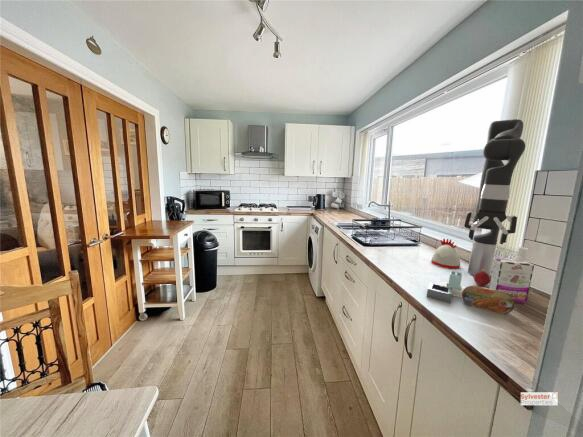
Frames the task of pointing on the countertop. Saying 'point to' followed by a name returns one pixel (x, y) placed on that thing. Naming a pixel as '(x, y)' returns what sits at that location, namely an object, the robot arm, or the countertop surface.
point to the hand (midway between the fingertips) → (485, 241)
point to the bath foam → (522, 254)
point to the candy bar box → (512, 278)
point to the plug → (455, 280)
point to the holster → (455, 291)
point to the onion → (482, 278)
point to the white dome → (446, 256)
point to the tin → (488, 299)
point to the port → (439, 292)
